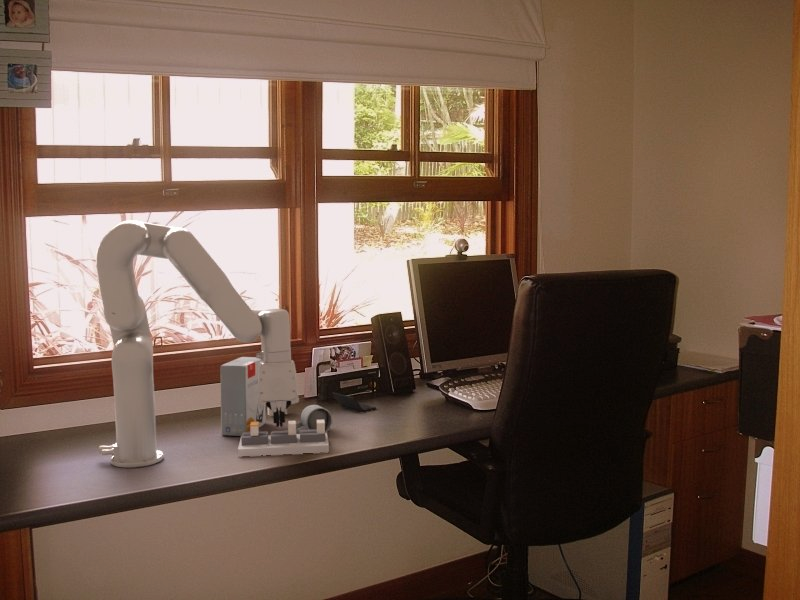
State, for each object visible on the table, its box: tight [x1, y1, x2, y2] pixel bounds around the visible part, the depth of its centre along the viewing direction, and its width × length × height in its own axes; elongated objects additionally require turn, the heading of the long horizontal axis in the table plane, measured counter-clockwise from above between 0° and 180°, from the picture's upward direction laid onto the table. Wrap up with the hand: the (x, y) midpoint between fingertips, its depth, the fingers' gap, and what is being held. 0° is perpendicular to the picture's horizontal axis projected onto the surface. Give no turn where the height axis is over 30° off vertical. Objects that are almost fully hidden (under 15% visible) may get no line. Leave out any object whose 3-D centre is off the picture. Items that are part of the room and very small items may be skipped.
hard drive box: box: [219, 356, 267, 437], centre depth 232 cm, size 16×8×20 cm, turn 168°
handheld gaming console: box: [332, 392, 377, 413], centre depth 256 cm, size 12×7×10 cm
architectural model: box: [266, 401, 288, 417], centre depth 250 cm, size 3×7×7 cm, turn 116°
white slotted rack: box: [237, 420, 330, 458], centre depth 213 cm, size 23×12×7 cm, turn 98°
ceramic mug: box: [296, 404, 333, 434], centre depth 229 cm, size 11×8×8 cm
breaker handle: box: [250, 422, 260, 436], centre depth 212 cm, size 2×4×3 cm, turn 8°
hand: (279, 425), depth 213 cm, fingers closed
